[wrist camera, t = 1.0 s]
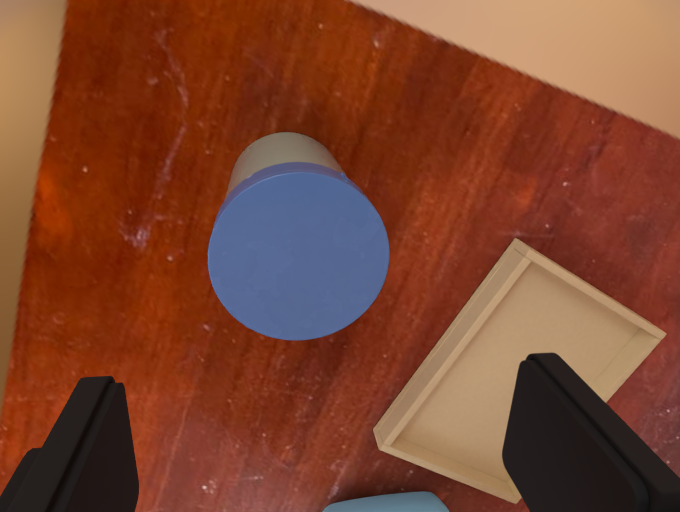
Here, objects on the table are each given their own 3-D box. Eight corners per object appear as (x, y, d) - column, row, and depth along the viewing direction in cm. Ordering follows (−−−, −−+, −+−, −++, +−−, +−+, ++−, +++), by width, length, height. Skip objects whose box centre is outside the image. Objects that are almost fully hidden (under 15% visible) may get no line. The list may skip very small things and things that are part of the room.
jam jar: (264, 109, 27) (266, 140, 18) (364, 169, 30) (414, 226, 20) (209, 210, 29) (183, 288, 19) (307, 260, 31) (327, 354, 21)
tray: (514, 237, 33) (530, 248, 31) (646, 319, 37) (667, 334, 35) (372, 429, 37) (378, 450, 35) (504, 483, 41) (516, 504, 39)
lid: (265, 125, 19) (265, 133, 17) (411, 212, 21) (425, 227, 19) (182, 275, 21) (175, 296, 19) (325, 341, 23) (330, 365, 21)
